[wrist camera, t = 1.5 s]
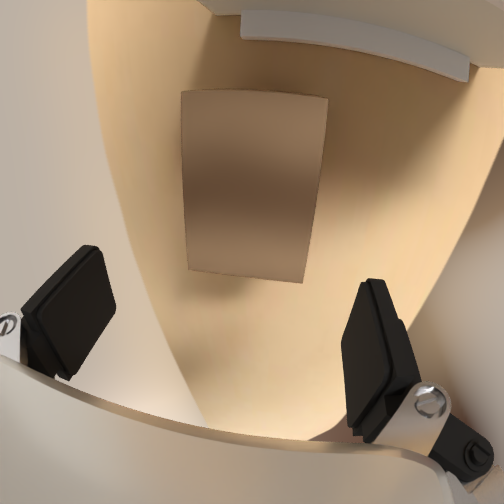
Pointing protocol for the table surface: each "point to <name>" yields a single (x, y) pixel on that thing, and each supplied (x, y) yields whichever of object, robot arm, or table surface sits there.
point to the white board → (383, 28)
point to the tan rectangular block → (251, 180)
